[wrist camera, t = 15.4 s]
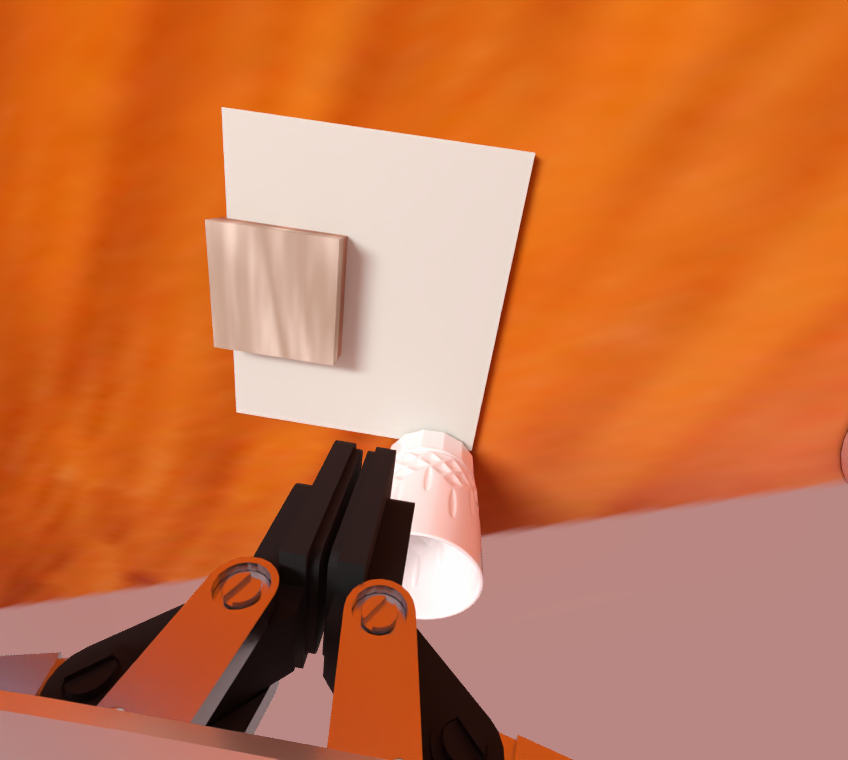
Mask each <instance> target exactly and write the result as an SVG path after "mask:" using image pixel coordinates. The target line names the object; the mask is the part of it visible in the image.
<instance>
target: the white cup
mask: <svg viewBox="0 0 848 760" xmlns="http://www.w3.org/2000/svg"><path fill="white" fill-rule="evenodd" d="M391 449H392V450H396V460H395V468H394V475H393V483H392V491H391V498H390V499H396V500H402V501H408V502H414V503H415V508H414V515H413V521H412V527H411V533H410V540H409V546H408V552H407V558H406V564H405V571H404V577H403V583H402V587H403V588H404V589H406V590H407V591H408V592H409V594H410V596H411V597H412V599H413V601H414V605H415V610H416V619H439V618H445V617H449V616H452V615H455V614H458V613H460V612H462V611H464V610H466V609H468V608H469V607H470V606H472V605H473V604H474V603H475V602H476V601H477V599H478V598H479V596H480V594H481V592H482V589H483V567H482V551H481V533H480V518H479V506H478V498H477V488H476V485H475V478H474V466H473V457H472V455H471V454H470V452H469V451H468V450H467V448H466V447H465V446H464V444H463V443H462V442H461V441H459V440H457V439H456V438H454V437H452V436H450V435H448V434H446V433H444V432H437V431H430V430H421V431H417V432H413V433H409V434H405V435H404V436H403V437H402V438H400V439H399V440H398V441H397V442H395V443H394V444H393V445H392V446H391Z"/></svg>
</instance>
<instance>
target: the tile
mask: <svg viewBox="0 0 848 760" xmlns="http://www.w3.org/2000/svg"><path fill="white" fill-rule="evenodd" d="M205 227H206V240H207V254H208V268H209V282H210V295H211V309H212V323H213V337H214V347H217V348H224V349H230V350H237V351H243V352H249V353H256V354H262V355H269V356H275V357H281V358H288V359H294V360H300V361H307V362H313V363H320V364H326V365H332V366H333V365H334V364H335V362H336V361H337V360H338V358H339V357H340V356H341V347H342V329H343V311H344V294H345V276H346V258H347V240H348V236H345V235H338V234H332V233H325V232H318V231H311V230H305V229H298V228H291V227H284V226H278V225H271V224H264V223H257V222H251V221H244V220H237V219H231V218H224V217H221V218H213V219H206V220H205Z"/></svg>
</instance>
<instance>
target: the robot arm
mask: <svg viewBox="0 0 848 760" xmlns="http://www.w3.org/2000/svg"><path fill="white" fill-rule="evenodd" d="M362 456H363V450H360V449H356V443H350V442H344V441H338V440H336V441H335V442H334V444H333V446H332V448H331V450H330V452H329V454H328V456H327V458H326V460H325V462H324V464H323V466H322V468H321V470H320V471H319V473H318V475H317V477H316V479H315V481H314V483H313V485H306V484H300V483H297V484H295V486H294V487H293V488H292V490H291V492H290V494H289V495H288V497H287V499H286V501H285V502H284V504H283V506H282V508H281V509H280V511H279V513H278V515H277V516H276V518H275V520H274V522H273V523H272V525H271V527H270V529H269V530H268V532H267V534H266V536H265V537H264V539H263V541H262V543H261V544H260V546H259V548H258V550H257V551H256V553H255V555H254V557H241V558H237V559H234V560H231V561H228V562H227V563H225V564H223V565H221V566H219V567H218V568H217V569H216V570H215V571H214V572H213V573H211V574H210V575H209V577H208V578H207V579H206V580H205V581H204V582H203V584H202V585H201V586H200V587H199V588H198V590H196V592H195V593H194V594H193V595H192V596H191V598H190V599H189V600H188V601H187V602H186V603H185V604H183V605H181V606H179V607H176V608H174V609H171V610H169V611H167V612H165V613H163V614H160V615H158V616H156V617H154V618H151V619H149V620H147V621H145V622H142V623H140V624H138V625H136V626H134V627H131V628H129V629H127V630H125V631H122V632H120V633H118V634H116V635H113V636H111V637H109V638H107V639H104V640H102V641H100V642H98V643H96V644H93V645H91V646H89V647H87V648H85V649H83V650H81V651H80V652H78V653H76V654H74V655H73V656H71V657H70V658H62V655H61V652H58V653H40V654H24V655H5V656H0V760H572V759H570V758H568V757H566V756H563V755H561V754H559V753H557V752H555V751H552V750H550V749H548V748H546V747H543V746H541V745H539V744H537V743H535V742H532V741H530V740H528V739H526V738H524V737H521V736H519V735H517V738H516V740H514V739H512V738H510V737H508V736H506V735H503V734H501V733H499V732H498V731H497V729H496V727H495V726H494V724H493V722H492V721H491V719H490V718H489V717H488V716H487V714H486V713H485V712H484V711H483V709H482V708H481V707H480V706H479V705H478V703H477V702H476V701H475V700H474V698H473V697H472V696H471V695H470V693H469V692H468V691H467V690H466V688H465V687H464V686H463V685H462V684H461V682H460V681H459V680H458V679H457V677H456V676H455V675H454V674H453V672H452V671H451V670H450V669H449V667H448V666H447V665H446V664H445V663H444V661H443V660H442V659H441V657H440V656H439V655H438V654H437V653H436V651H435V650H434V649H433V648H432V646H431V645H430V644H429V643H428V641H427V640H426V639H425V638H424V636H423V635H422V634H421V633H420V632H419V630H418V629H417V628H416V610H415V605H414V601H413V599H412V597H411V596H410V594H409V592H408V591H407V590H406V589H404V588H403V587H402V583H403V577H404V571H405V564H406V558H407V552H408V546H409V540H410V533H411V527H412V521H413V515H414V508H415V503H414V502H408V501H402V500H396V499H390V498H391V491H392V483H393V475H394V468H395V460H396V450H392V449H386V448H380V447H377V448H376V450H375V452H372V451H368V452H367V455H366V458H365V460H364V463H363V466H362ZM841 463H842V470H843V473H844V476H845V479H846V481H847V482H848V432H847V434H846V437H845V439H844V442H843V447H842V452H841ZM361 467H362V469H361ZM323 632H324V637H323V655H324V671H323V677H324V678H325V680H326V682H327V684H328V686H329V687H330V689H331V691H332V693H333V703H332V712H331V720H330V729H329V737H328V745H327V748H323V747H317V746H312V745H307V744H301V743H296V742H290V741H285V740H279V739H274V738H269V737H263V736H258V735H254V733H255V731H256V729H257V727H258V725H259V723H260V721H261V719H262V718H263V716H264V714H265V712H266V710H267V708H268V706H269V704H270V702H271V701H272V699H273V697H274V695H275V693H276V690H277V687H278V685H279V680H280V679H281V678H283V677H285V676H286V675H288V674H290V673H291V672H293V671H294V669H295V667H298V668H303V667H304V664H305V661H306V658H307V655H308V653H313V654H316V652H317V650H318V647H319V644H320V641H321V638H322V635H323Z"/></svg>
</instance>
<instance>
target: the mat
mask: <svg viewBox="0 0 848 760" xmlns="http://www.w3.org/2000/svg"><path fill="white" fill-rule="evenodd" d="M222 124H223V145H224V165H225V186H226V206H227V218H231V219H237V220H244V221H251V222H257V223H264V224H271V225H278V226H284V227H291V228H298V229H305V230H311V231H318V232H325V233H332V234H338V235H345V236H348V240H347V258H346V276H345V294H344V311H343V329H342V347H341V356H340V357H339V358H338V360H337V361H336V362H335V364H334V365H333V366H332V365H326V364H320V363H313V362H307V361H300V360H294V359H288V358H281V357H275V356H269V355H262V354H256V353H249V352H243V351H237V350H234V369H235V390H236V410H237V412H238V413H244V414H250V415H256V416H262V417H268V418H275V419H281V420H287V421H293V422H299V423H305V424H311V425H317V426H323V427H329V428H336V429H342V430H348V431H354V432H360V433H366V434H372V435H378V436H384V437H390V438H396V439H400V438H402V437H403V436H404V435H405V434H409V433H413V432H417V431H421V430H430V431H437V432H444V433H446V434H448V435H450V436H452V437H454V438H456V439H457V440H459V441H461V442H462V443H463V444H464V446H465V447H466V448H467V450H470V451H472V447H473V442H474V437H475V433H476V428H477V423H478V419H479V414H480V409H481V405H482V400H483V395H484V390H485V386H486V381H487V376H488V372H489V367H490V362H491V358H492V353H493V348H494V344H495V339H496V334H497V330H498V325H499V320H500V316H501V311H502V306H503V302H504V297H505V292H506V288H507V283H508V278H509V274H510V269H511V264H512V260H513V255H514V250H515V246H516V241H517V236H518V232H519V227H520V222H521V218H522V213H523V208H524V204H525V199H526V194H527V190H528V185H529V180H530V176H531V171H532V166H533V162H534V157H535V153H532V152H526V151H519V150H512V149H505V148H498V147H491V146H485V145H478V144H471V143H464V142H457V141H450V140H444V139H437V138H430V137H423V136H416V135H409V134H402V133H396V132H389V131H382V130H375V129H368V128H361V127H355V126H348V125H341V124H334V123H327V122H320V121H314V120H307V119H300V118H293V117H286V116H279V115H273V114H266V113H259V112H252V111H245V110H238V109H231V108H225V107H222Z"/></svg>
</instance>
